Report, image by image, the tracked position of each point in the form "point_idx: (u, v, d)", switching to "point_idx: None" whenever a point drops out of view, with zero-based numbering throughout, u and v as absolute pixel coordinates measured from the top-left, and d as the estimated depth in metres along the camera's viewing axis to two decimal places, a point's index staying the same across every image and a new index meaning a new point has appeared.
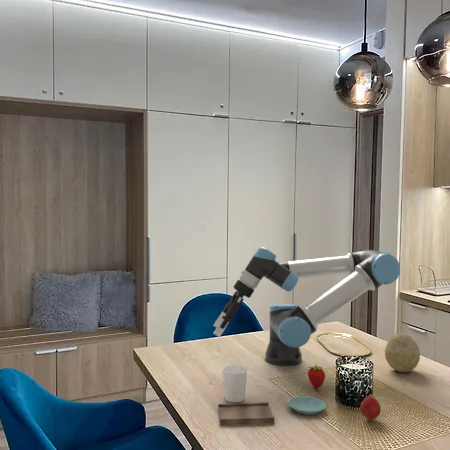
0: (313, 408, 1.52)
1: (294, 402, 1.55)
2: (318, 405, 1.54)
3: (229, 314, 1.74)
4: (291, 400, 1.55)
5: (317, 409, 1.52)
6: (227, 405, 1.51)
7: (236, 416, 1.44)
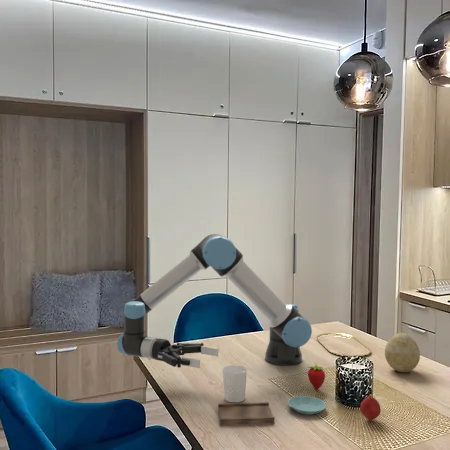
0: (313, 408, 1.52)
1: (294, 401, 1.55)
2: (318, 405, 1.54)
3: (170, 363, 1.59)
4: (291, 400, 1.55)
5: (317, 409, 1.52)
6: (227, 405, 1.51)
7: (236, 416, 1.44)
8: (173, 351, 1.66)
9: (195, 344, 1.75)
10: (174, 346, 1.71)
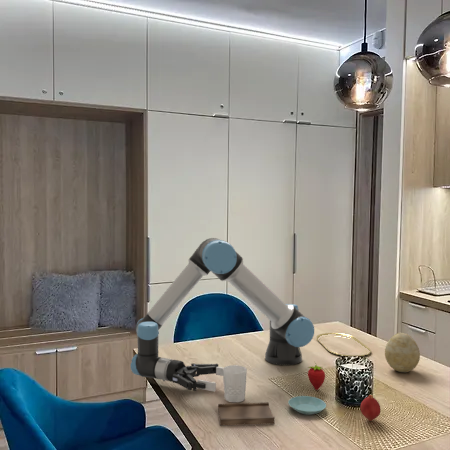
0: (313, 408, 1.52)
1: (294, 401, 1.55)
2: (318, 405, 1.54)
3: (186, 386, 1.57)
4: (291, 400, 1.55)
5: (317, 409, 1.52)
6: (227, 405, 1.51)
7: (236, 416, 1.44)
8: (188, 373, 1.63)
9: (210, 365, 1.72)
10: (189, 367, 1.68)
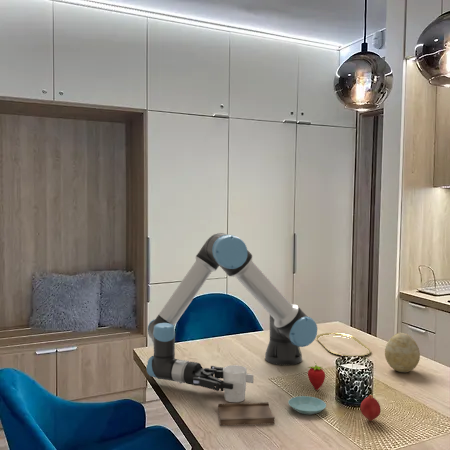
0: (313, 408, 1.52)
1: (294, 402, 1.55)
2: (318, 405, 1.54)
3: (213, 387, 1.55)
4: (291, 400, 1.55)
5: (317, 409, 1.52)
6: (227, 405, 1.51)
7: (236, 416, 1.44)
8: (209, 375, 1.61)
9: None
10: (206, 370, 1.65)
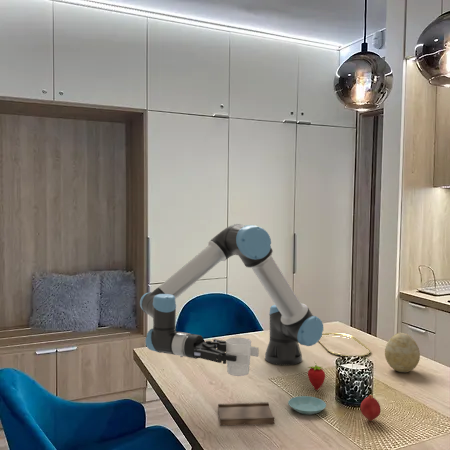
0: (313, 408, 1.52)
1: (294, 402, 1.55)
2: (318, 405, 1.54)
3: (215, 359, 1.45)
4: (291, 400, 1.55)
5: (317, 409, 1.52)
6: (227, 405, 1.51)
7: (236, 416, 1.44)
8: (211, 347, 1.51)
9: None
10: (208, 342, 1.56)
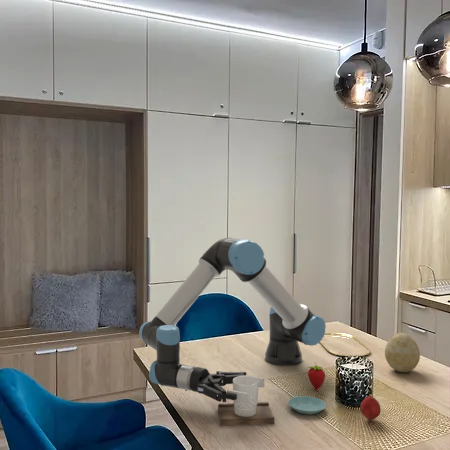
0: (313, 408, 1.53)
1: (293, 402, 1.55)
2: (317, 405, 1.54)
3: (215, 397, 1.41)
4: (291, 400, 1.55)
5: (317, 409, 1.52)
6: (227, 405, 1.51)
7: (236, 416, 1.44)
8: (215, 382, 1.47)
9: (237, 373, 1.56)
10: (214, 376, 1.52)
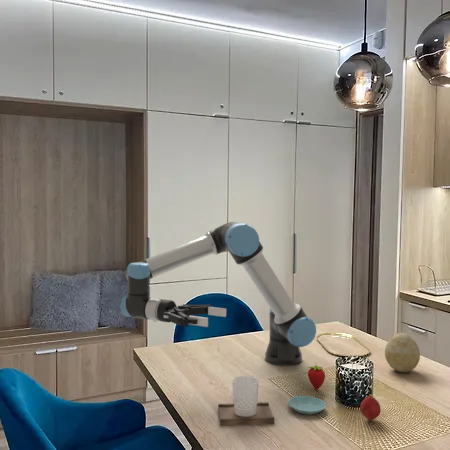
0: (313, 408, 1.53)
1: (293, 402, 1.55)
2: (317, 404, 1.54)
3: (177, 322, 1.53)
4: (290, 400, 1.55)
5: (317, 408, 1.52)
6: (227, 405, 1.51)
7: (236, 416, 1.44)
8: (179, 311, 1.59)
9: (202, 305, 1.68)
10: (180, 307, 1.64)
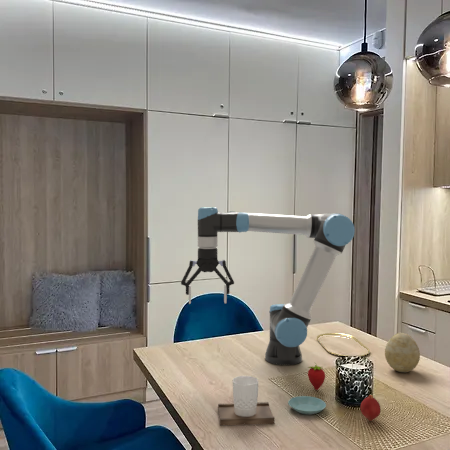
0: (313, 408, 1.53)
1: (293, 402, 1.55)
2: (317, 404, 1.54)
3: None
4: (290, 401, 1.55)
5: (317, 408, 1.52)
6: (227, 405, 1.51)
7: (236, 416, 1.44)
8: (198, 272, 1.82)
9: None
10: (210, 266, 1.82)
